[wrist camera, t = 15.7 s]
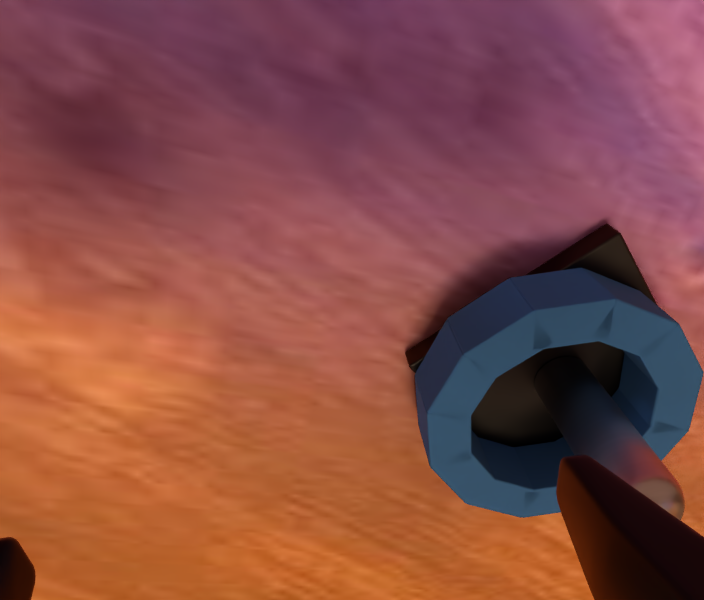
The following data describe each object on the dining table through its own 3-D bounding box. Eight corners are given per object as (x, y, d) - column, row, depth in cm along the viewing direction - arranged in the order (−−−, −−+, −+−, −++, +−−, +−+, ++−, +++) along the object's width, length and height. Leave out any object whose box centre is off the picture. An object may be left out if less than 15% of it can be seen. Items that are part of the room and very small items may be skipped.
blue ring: (491, 503, 25) (509, 548, 23) (366, 369, 21) (374, 410, 19) (694, 393, 23) (734, 432, 21) (601, 217, 18) (639, 244, 16)
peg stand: (507, 472, 26) (586, 651, 18) (404, 351, 22) (453, 519, 15) (686, 375, 23) (851, 534, 16) (606, 222, 20) (777, 344, 13)
